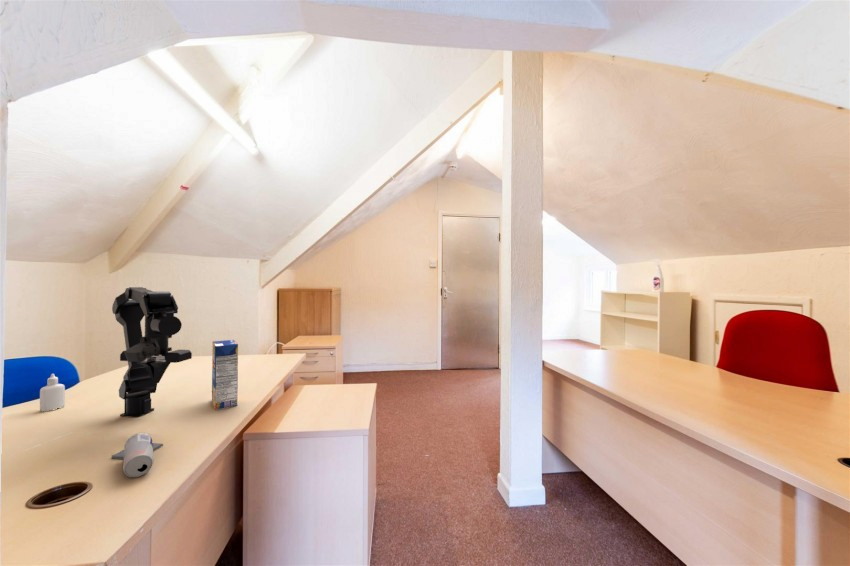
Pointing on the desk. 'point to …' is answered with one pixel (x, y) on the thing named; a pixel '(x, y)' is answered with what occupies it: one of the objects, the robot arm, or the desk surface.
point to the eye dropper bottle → (52, 395)
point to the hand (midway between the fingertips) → (156, 383)
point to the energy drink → (138, 455)
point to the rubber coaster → (121, 454)
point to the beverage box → (224, 374)
